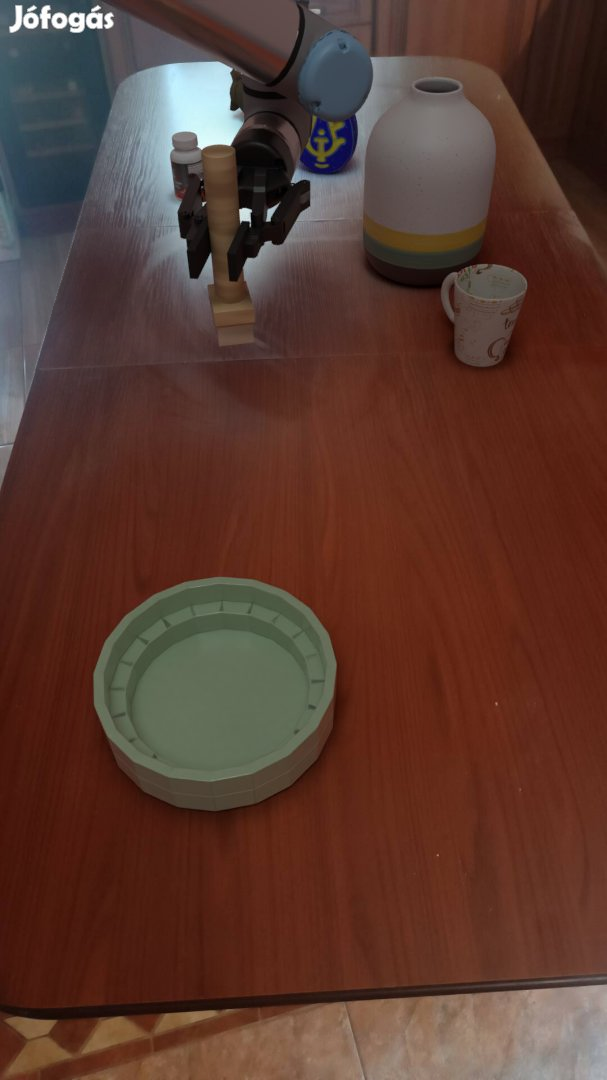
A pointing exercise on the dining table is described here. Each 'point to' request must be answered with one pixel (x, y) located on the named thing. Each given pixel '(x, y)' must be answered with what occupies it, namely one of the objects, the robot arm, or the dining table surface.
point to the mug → (483, 311)
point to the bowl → (216, 692)
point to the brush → (225, 247)
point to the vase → (427, 184)
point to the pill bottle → (184, 160)
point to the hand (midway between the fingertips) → (212, 266)
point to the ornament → (330, 145)
